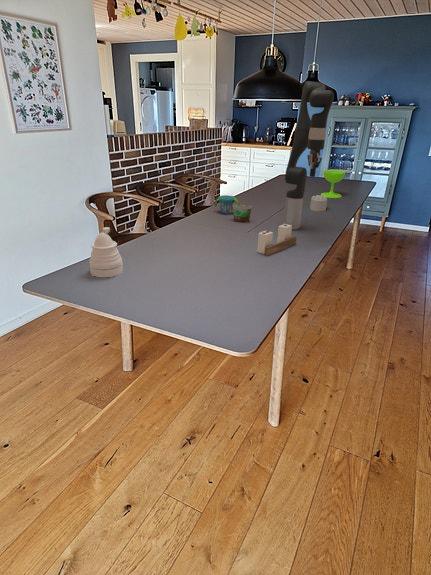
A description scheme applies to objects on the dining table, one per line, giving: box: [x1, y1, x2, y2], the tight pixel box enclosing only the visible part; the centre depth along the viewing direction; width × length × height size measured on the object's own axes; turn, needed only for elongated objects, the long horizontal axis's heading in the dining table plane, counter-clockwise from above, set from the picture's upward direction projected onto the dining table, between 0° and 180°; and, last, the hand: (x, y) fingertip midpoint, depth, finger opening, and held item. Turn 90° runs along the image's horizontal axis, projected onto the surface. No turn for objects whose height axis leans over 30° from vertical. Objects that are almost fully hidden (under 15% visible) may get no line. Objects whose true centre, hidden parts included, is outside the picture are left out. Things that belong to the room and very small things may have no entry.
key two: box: [256, 230, 274, 255], centre depth 178 cm, size 4×6×9 cm
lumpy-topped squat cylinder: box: [309, 194, 328, 212], centre depth 260 cm, size 10×13×9 cm
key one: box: [276, 223, 293, 243], centre depth 189 cm, size 4×6×9 cm
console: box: [264, 235, 297, 257], centre depth 186 cm, size 15×24×5 cm, turn 138°
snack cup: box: [214, 194, 239, 215], centre depth 246 cm, size 16×10×10 cm
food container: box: [232, 202, 253, 223], centre depth 229 cm, size 12×6×10 cm, turn 62°
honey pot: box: [88, 226, 124, 277], centre depth 155 cm, size 13×13×18 cm
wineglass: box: [320, 169, 346, 199], centre depth 298 cm, size 16×16×18 cm
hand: (312, 176), depth 187 cm, fingers closed
